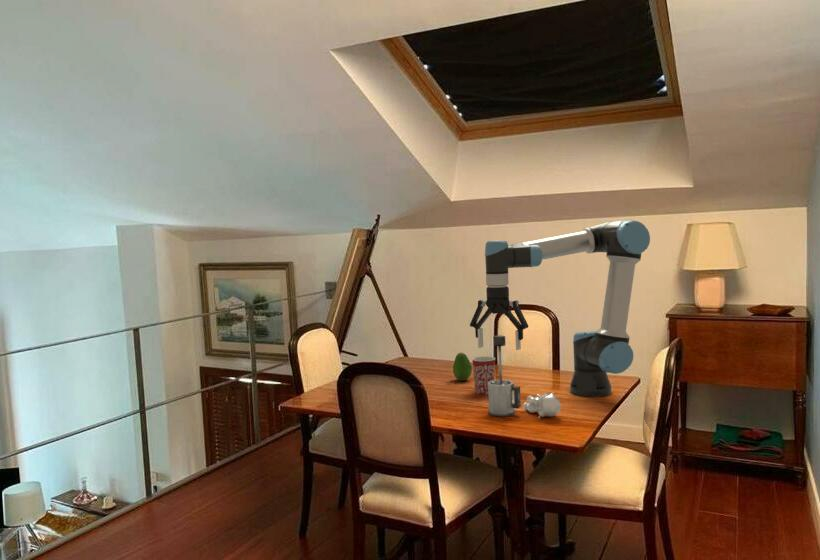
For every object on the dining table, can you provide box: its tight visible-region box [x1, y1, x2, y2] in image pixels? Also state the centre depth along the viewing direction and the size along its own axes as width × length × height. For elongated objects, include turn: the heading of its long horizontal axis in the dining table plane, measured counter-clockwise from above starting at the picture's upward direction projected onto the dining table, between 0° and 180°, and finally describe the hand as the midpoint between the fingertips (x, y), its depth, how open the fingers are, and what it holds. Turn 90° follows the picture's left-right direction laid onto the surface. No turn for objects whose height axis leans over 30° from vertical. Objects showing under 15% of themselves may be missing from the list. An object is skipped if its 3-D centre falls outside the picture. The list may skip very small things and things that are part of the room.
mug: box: [471, 355, 496, 396], centre depth 240 cm, size 13×9×14 cm
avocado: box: [452, 352, 473, 381], centre depth 260 cm, size 8×8×12 cm
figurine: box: [522, 391, 562, 419], centre depth 207 cm, size 11×7×15 cm
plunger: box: [492, 335, 509, 385], centre depth 210 cm, size 6×6×17 cm
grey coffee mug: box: [487, 379, 522, 418], centre depth 210 cm, size 11×9×10 cm
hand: (499, 348), depth 210 cm, fingers open, 13 cm apart
